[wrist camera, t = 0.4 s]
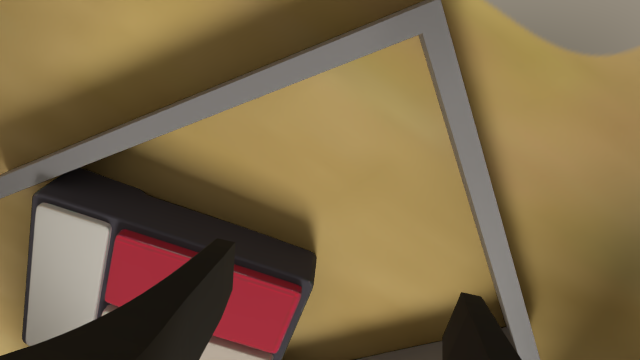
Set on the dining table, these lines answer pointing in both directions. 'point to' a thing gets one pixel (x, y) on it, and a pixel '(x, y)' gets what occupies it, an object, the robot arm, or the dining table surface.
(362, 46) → the grey piece
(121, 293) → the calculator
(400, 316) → the dining table surface
